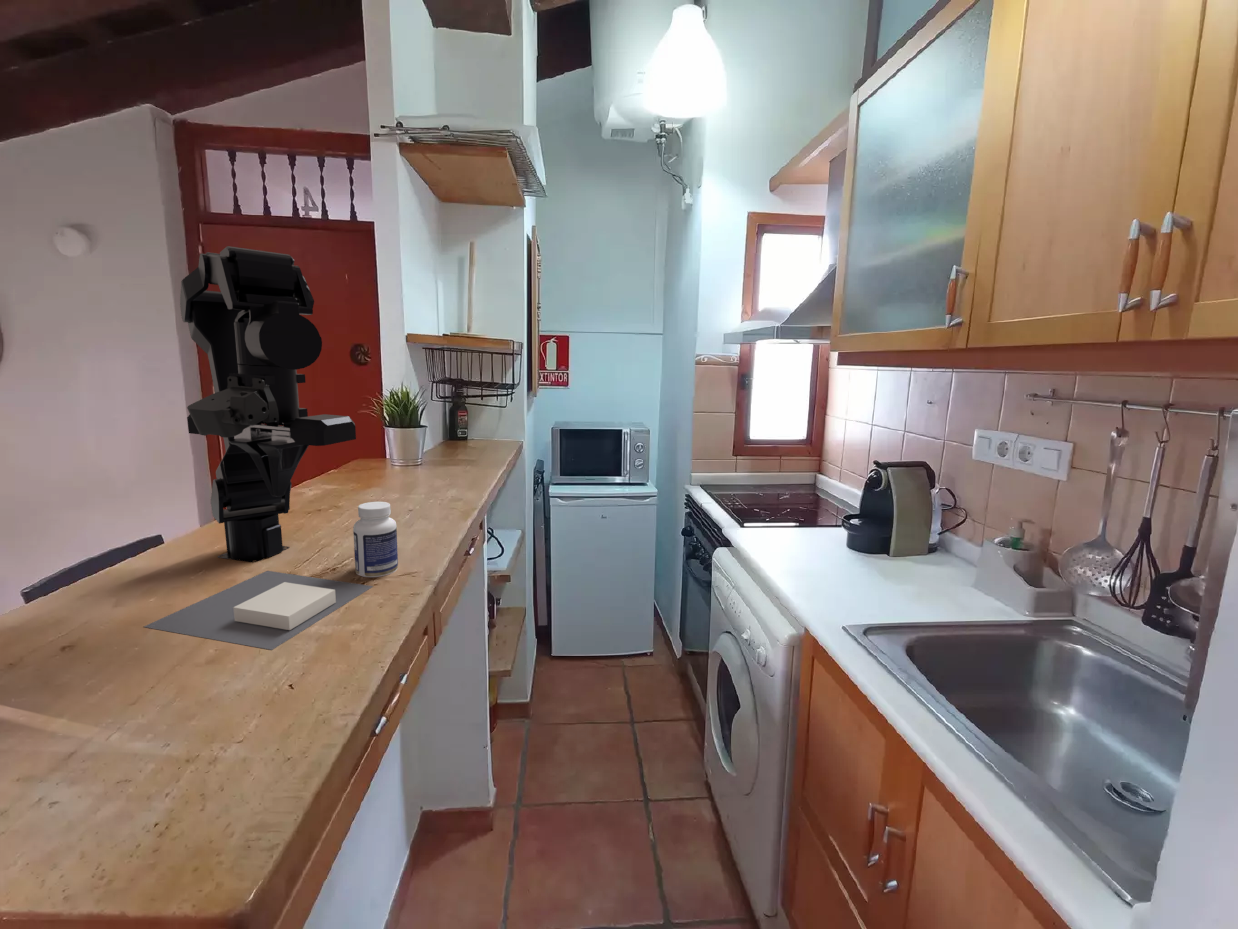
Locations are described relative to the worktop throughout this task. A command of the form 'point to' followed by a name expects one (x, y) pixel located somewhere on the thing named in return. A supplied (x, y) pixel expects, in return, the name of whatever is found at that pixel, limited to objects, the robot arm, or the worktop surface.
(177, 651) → the worktop surface
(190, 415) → the robot arm
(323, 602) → the tile
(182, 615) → the mat
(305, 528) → the worktop surface
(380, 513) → the pill bottle
